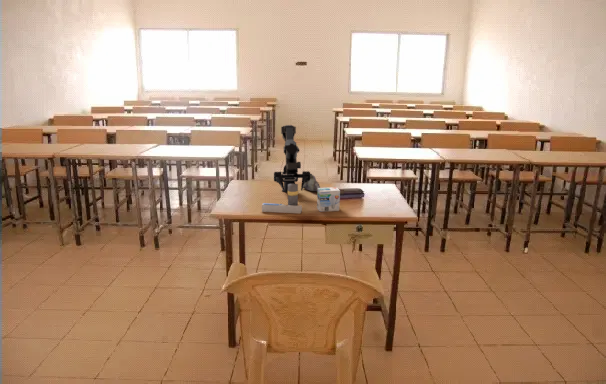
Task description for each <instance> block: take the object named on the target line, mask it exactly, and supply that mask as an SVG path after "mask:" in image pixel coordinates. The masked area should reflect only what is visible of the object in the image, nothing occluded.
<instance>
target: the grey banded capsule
mask: <svg viewBox="0 0 606 384" xmlns="http://www.w3.org/2000/svg"><path fill="white" fill-rule="evenodd" d="M298 186H299V184H297V183H295V184H294V183H291V184H288V193H287V205H293V206H299V196H298V195H299V187H298Z"/></svg>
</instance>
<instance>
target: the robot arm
mask: <svg viewBox="0 0 606 384" xmlns="http://www.w3.org/2000/svg"><path fill="white" fill-rule="evenodd" d="M296 130H297V127H296V126H294V125H292V124H285V125H283V126H281V128H280V134H281V135H282V139H283V140H284V146H283V154H284V155H285V165H284V166H283V171H274V172H273V182H275V183H277V184H279V186H280V187H281V189H282V190H281V192H284V193H286V194H288V184H291V183H294V184H296V183H297V182H299V181H298V180H299V179H301V186H300V187H301V188H300V190H301V192H302V191H303V190H304V188H303V186H304V184H305V182H307V181H310V174H311V172H310V171H309V170H303V171H302V173H299V170H298V169H301V168H302V164H301V163H302V162H301V161H297V158H298V153H299V152H300V148H299V146H298V145H297V142H296V141H295V135H296V134H297V131H296Z"/></svg>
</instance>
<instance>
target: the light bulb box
mask: <svg viewBox="0 0 606 384" xmlns="http://www.w3.org/2000/svg"><path fill="white" fill-rule="evenodd" d="M316 193H317V194H316V195H317V196H316V197H317V198H316V200H317V201H316V208H317V210H318V211H319V212H339V211H340V206H341V205H340V202H341V190H340V189H339V188H338V187H335V186H332V187H320V188H318V189H317V191H316Z"/></svg>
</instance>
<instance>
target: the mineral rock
mask: <svg viewBox="0 0 606 384" xmlns="http://www.w3.org/2000/svg"><path fill="white" fill-rule="evenodd" d="M318 188H321V186H320V183H319V182H318V181H317V179H316V176H315V175H314V174H313V173H310V181H307V182H305V184H304V186H303V189H305V190H307V191H311V192H317V189H318Z"/></svg>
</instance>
